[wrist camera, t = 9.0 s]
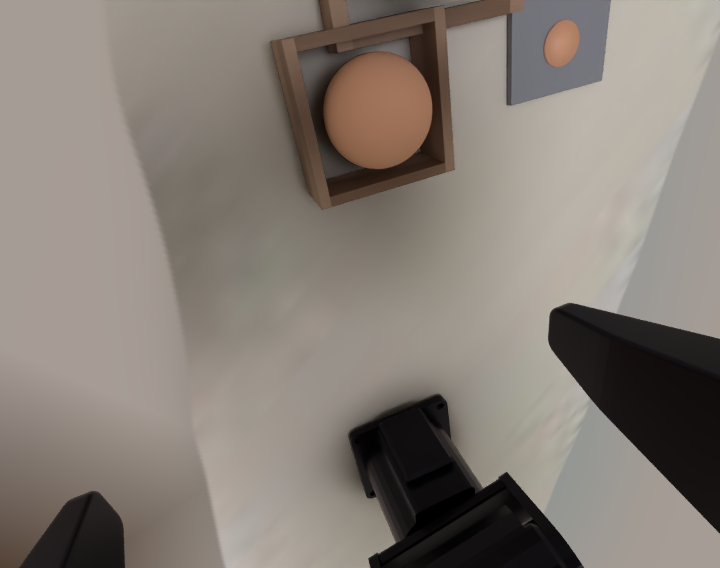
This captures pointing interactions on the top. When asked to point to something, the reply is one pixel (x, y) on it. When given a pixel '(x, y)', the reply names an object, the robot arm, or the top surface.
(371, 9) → the top surface
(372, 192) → the walnut frame
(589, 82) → the slate card
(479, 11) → the walnut socket
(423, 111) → the terracotta ball
